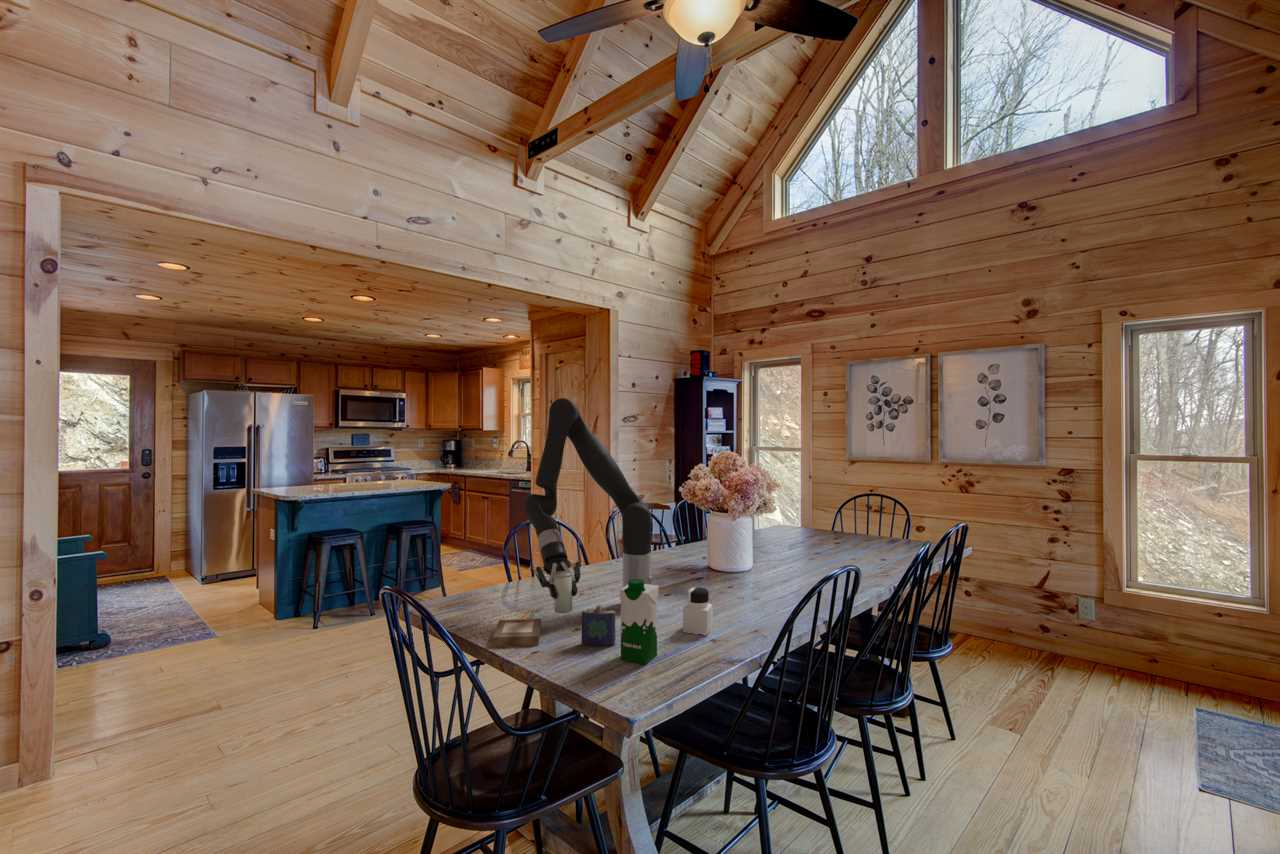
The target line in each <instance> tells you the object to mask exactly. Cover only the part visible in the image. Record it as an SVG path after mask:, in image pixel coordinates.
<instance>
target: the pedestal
mask: <svg viewBox="0 0 1280 854" xmlns="http://www.w3.org/2000/svg"><path fill="white" fill-rule="evenodd" d="M541 630H542V618H529V619H528V618H525V619H524V618H523V619H522V618H521V619H499V620H498V622H497V625H496V628H495V631H494V633H493V635H492V647H493V646H505V647H524V646H525V647H526V645H527V647H528V646H529V647H530V646H531V647H532V646H539V644H540V643H539V642H540V639H541Z"/></svg>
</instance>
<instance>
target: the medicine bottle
mask: <svg viewBox="0 0 1280 854" xmlns="http://www.w3.org/2000/svg"><path fill="white" fill-rule="evenodd" d="M709 596H710V593H709V590H708V589H706V588H704V587H697V586H696V587H691V588H688V590H687V603H686V605H684V607H683V608H682V632H690V633H697V634H706V635H707V634H708V633H709V634H710V632H711V630H712V629H711V628H713V608H714V607H713V604H712V603H710V602H709V600H710V598H709ZM709 631H710V632H709ZM697 634H696V635H697ZM709 634H708V635H709ZM708 635H707V636H708Z"/></svg>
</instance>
